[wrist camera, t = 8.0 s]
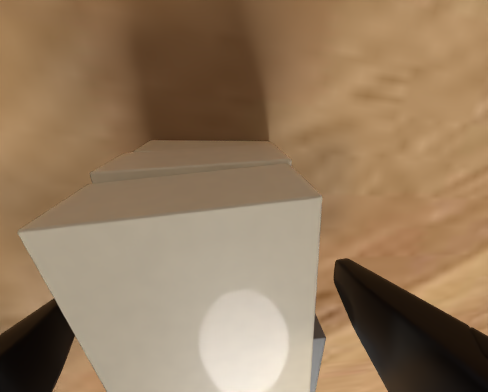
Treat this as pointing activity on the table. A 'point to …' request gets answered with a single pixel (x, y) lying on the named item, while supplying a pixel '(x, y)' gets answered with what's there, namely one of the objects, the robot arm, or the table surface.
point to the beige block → (188, 159)
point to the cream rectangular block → (188, 278)
